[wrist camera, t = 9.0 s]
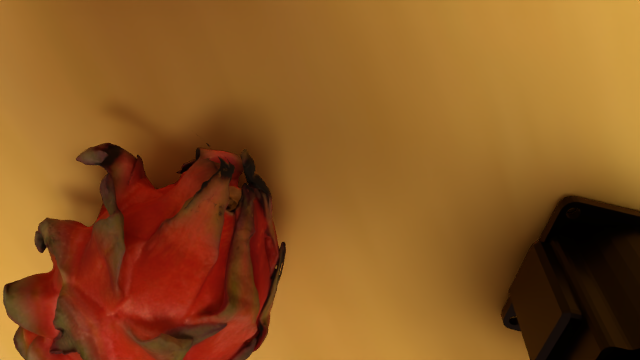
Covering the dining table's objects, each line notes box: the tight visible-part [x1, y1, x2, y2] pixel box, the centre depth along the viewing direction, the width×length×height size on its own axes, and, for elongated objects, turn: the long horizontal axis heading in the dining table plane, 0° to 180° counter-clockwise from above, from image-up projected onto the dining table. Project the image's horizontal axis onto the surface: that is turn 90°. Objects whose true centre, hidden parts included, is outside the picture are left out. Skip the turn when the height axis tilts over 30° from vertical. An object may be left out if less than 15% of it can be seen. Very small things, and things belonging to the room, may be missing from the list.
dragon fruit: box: [3, 143, 286, 360], centre depth 20 cm, size 8×8×12 cm
